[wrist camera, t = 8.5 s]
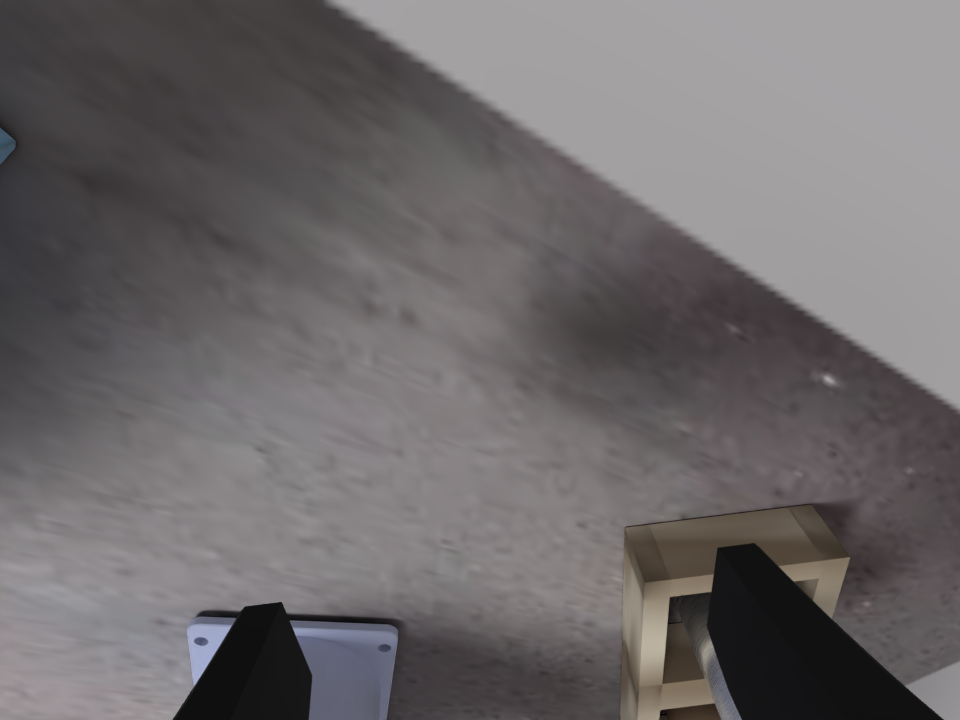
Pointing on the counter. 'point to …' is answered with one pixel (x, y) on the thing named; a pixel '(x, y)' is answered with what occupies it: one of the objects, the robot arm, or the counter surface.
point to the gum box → (5, 145)
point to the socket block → (689, 570)
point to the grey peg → (705, 650)
